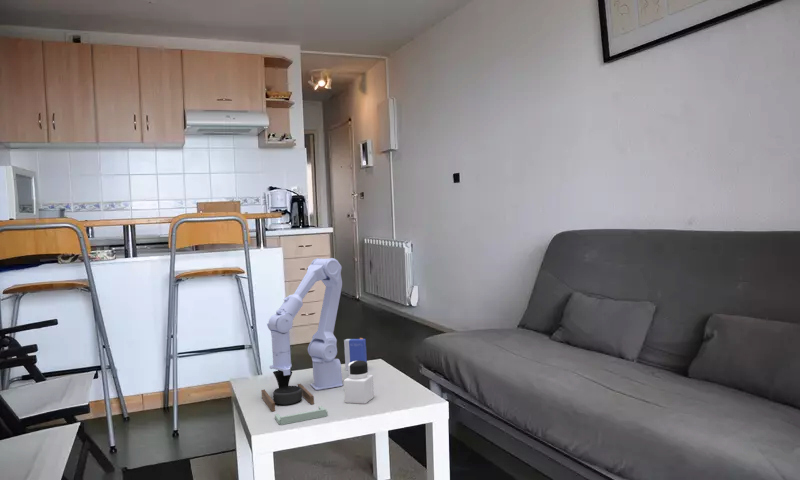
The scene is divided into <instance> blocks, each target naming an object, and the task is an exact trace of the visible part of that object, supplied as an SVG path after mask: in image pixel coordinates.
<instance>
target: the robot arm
mask: <svg viewBox="0 0 800 480" xmlns="http://www.w3.org/2000/svg"><path fill="white" fill-rule="evenodd" d="M342 268H343V267H342V265H341V264H340V262H339V260H338V259H336V258H333V257H330V258H321V257H317V258H314V259H313V260H312V261H311V263H310V265H308V267H307V269H306V270H307V271H306V273H305V274H304V276H303V278H302V279H301V281H300V283H299V285H298V286H297V288H296V290H295V292H294V293H293V294H289V295H288V296H286V297H284V299H283V302H282V304H281V305H280V307H279V308H278V309H277V310H276V311H275V313H274V314H273V315H271V316H270V317H269V319H268V323H266V326H267V328H268V330H269V331H270V335H271V349H272V350H271V351H272V353H271V354H272V365H269V369H270V370H272V369H273V370H275V371H272V373H273V375H274V377H275V379H276V382H277V386H278V388H280V387H284V386H290V380H291V377H292V375H293V371H292V369H291V368H292V366H293V365H292V360H291V359H292V356H291V340H290V331H291V330H292V328H293V324H294V323H293V322H294V319H295V317H296V316H297V314H299V312H300V310H301V308H302V307H303V305H304V302H303V299H304V298H305V297H306V295H307V294H308V292H310V290H311V289H312V288H313V287H314V285H315V284H316V283H317V282H319V281H321V282H322V284H323V285H324V286H325V290H324V294H323V295H324V296H323V301H322V306H321V310H320V316H319V320H318V321H319V322H318V326H317V327H318V328H317V331H316V332H315V333H314V334H313V335H312V337H311V340H310V343H309V344H308V346H307V353H308V355H309V356H310V357H311V360H312V375H313V383H310V386H311V387H312V388H313V389H314V390H315V391H320V390H326V389H331V388H338V387H344V383H343V376H342V375H343V373H342V365H341V361H340V359H339V358H336V356H337V355H338V347H337V342H338V339H337V338H336V336H335V335H334V331H335V325H336V322H337V321H336V320H337V314H338V309H339V303H340V298H341V294H342V293H341V292H342V287H343V280H342V274H341V272H342Z"/></svg>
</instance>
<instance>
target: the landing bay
mask: <svg viewBox="0 0 800 480" xmlns="http://www.w3.org/2000/svg"><path fill="white" fill-rule="evenodd" d="M328 414H329V413H328V410H327V408H324V406H322V405H321V406H318V409H316V410H315V409H314V410H310V411H304V412H299V413H292V414H288V415H282V416H280V414H279V413H274V420H275V421H276V422H277V424H278V425H280V426H283V425H287V424H293V423H299V422H303V421H309V420H314V419H319V418H324V417H327V416H329V415H328Z"/></svg>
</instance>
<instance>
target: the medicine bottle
mask: <svg viewBox="0 0 800 480" xmlns="http://www.w3.org/2000/svg"><path fill="white" fill-rule="evenodd" d="M347 372H348V377H347V378H345V379H344V380H343V392H344V394H343V395H344V402H345V403H346V404H367V403H368V402H370V401H371V400H372V399H373V398H375V390H374V389H375V387H374V375H373V374H369V371H368V361H367V362H365V361H353V362H350V363H349V364H348V371H347Z"/></svg>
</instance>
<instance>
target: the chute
mask: <svg viewBox="0 0 800 480" xmlns="http://www.w3.org/2000/svg"><path fill="white" fill-rule="evenodd" d="M297 386H298V387H300V388H301V389H302V398H304V399H305V401H307V402H308V404H310V405H315V397H314V394H313V393H311V392H310V391H309V390H308V389H307V388H306V387H305V386H304V385H303V384H302V383H297ZM260 391H261V392H260V393H261V398H262V400H263V402H264V403H265V404H266V406H267V408H269V410H270V411H271V412H275V411H276V403H275V402H274V400H273V398H272V397H271V396H270V395H269V393H268V392H267V390H265V389H261V390H260Z"/></svg>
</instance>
